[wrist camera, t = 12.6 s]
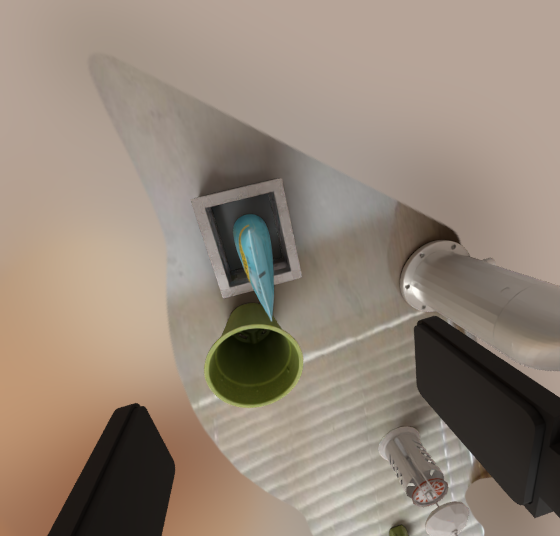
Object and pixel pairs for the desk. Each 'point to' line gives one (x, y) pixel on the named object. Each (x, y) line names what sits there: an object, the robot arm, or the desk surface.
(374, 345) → the desk surface
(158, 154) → the desk surface
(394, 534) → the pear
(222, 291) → the square metal frame
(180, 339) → the desk surface
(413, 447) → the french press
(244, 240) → the tube
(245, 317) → the plant pot
